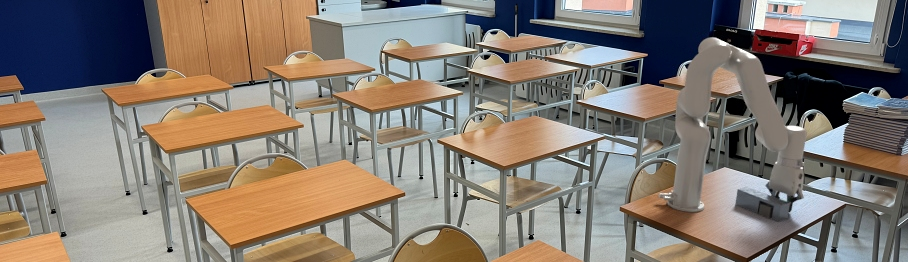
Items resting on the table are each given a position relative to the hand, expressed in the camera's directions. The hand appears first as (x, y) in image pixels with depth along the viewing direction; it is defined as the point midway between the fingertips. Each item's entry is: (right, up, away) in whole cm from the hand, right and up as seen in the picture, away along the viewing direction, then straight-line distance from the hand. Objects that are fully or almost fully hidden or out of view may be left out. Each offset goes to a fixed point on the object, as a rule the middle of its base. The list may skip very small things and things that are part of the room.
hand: (781, 209), depth 229 cm
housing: (-7, -1, 0) cm, 7 cm away
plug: (-4, -1, -2) cm, 4 cm away
